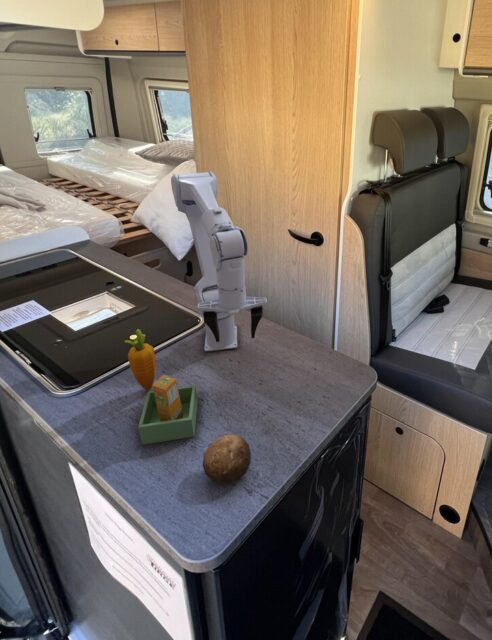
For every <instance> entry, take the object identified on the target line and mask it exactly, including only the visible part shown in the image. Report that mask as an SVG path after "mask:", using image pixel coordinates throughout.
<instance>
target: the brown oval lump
mask: <svg viewBox="0 0 492 640" xmlns="http://www.w3.org/2000/svg"><path fill="white" fill-rule="evenodd" d="M251 460H252V452H251V448H250V445H249V443H248V442H247V441H246V439H245V438H244V437H243V436H240V435H238V434H235V433H234V434H230V433H229V434H224V435H222V436H220V437H217V438H216V439H215V440H214V441H212V442H211V443H210V444H209V445H208V447H207V449H206V450H205V452H204V453H203V458H202V467H203V471H204V473H205V474H204V475H205V476H206V477H207V478H208V479H210V481H211V482H214V483H217V484H230V483H234V482H237V481H240V480H241V478H242V477H244V476H245V474H246V473H247V472H248V469H249V468H250V465H251V463H252V462H251Z"/></svg>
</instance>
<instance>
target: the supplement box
mask: <svg viewBox="0 0 492 640" xmlns="http://www.w3.org/2000/svg"><path fill="white" fill-rule="evenodd" d="M178 387H179V386H178V381H177V379H176V378H173V377H169V376H167V375H165V374H162V375H161V376H160V377H159V379H157V380H156V381H154V382H153V385H152V388H153V390H152V391H154V394H155V399H156V404H157V409H158V413H159V418H160V422H163V421H170V420H177V419H181V417H182V416H183V413H182V407H181V402H180V397H179V392H178Z"/></svg>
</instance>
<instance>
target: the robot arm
mask: <svg viewBox="0 0 492 640" xmlns="http://www.w3.org/2000/svg"><path fill="white" fill-rule="evenodd" d="M170 184H171V185H170V186H171V191H172V196H173V200H174V204H175V207H176V209H177V211H178V212H180V213H182V214H185V216H186V219H187V220H188V224H189V227H190V231H191V236H192V239H193V243H194V248H195V252H196V256H197V260H198V263H199V269H200V273H201V276H202V277H201V278H200V279H199V280H198V282H197V283H195V285H194V287H193V295H194V303H195V307H196V310H197V315H198V316H201V317H203V322H204V329H205V337H204V338H205V339H204V352H214V351H222V350H232V349H237V348H238V327H237V325H235V316H236V315H238V314H239V312H243V311H247V310H250V318H251V319H250V336H251V337H250V338H251V339H255V338H256V332H257V329H258V325H259V323H260V322H261V320H262V318H263V315H264V314H263V313H264V311H263V310H268V300H267V297H256V296H247V289H246V274H245V273H246V272H245V256H247V255H248V252H249V251H248V250H249V248H248V247H249V246H248V240H247V236H246V233H245V231H244V230H243V228H241V227H239V226H235V224H234V223H233V221H232V219H231V217H230V215H229V214H228V211H227V210H226V209H225V208H223V207H220V206H219V204H218V201H217V196H218V191H219V186H218V180H217V177H216V175H215V173H214V172H213V171H208V172H207V171H205V172H193V173H192V172H191V173H180V174H177V173H173V174H172V176H171V177H170Z"/></svg>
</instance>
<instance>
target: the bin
mask: <svg viewBox="0 0 492 640" xmlns="http://www.w3.org/2000/svg"><path fill="white" fill-rule="evenodd" d="M177 387H178V392H179V397H180V402H181V407H182V413H183V416H182V417H181V419H177V420H170V421H163V422H160V418H159V413H158V409H157V404H156V399H155V394H154V390H147V393H146V397H145V400H144V404H143V408H142V412H141V415H140V419H139V423H138V426H137V428H138V433H139V438H140V442H141V445H142V446H144V445H145V446H146V445H151V444H158V443H163V442H169V441H176V440H182V439H188V438H193V437H195V432H196V423H197V413H198V405H199V404H198V403H199V401H198V393H197V386H196V384H194V385H185V386H177Z"/></svg>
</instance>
